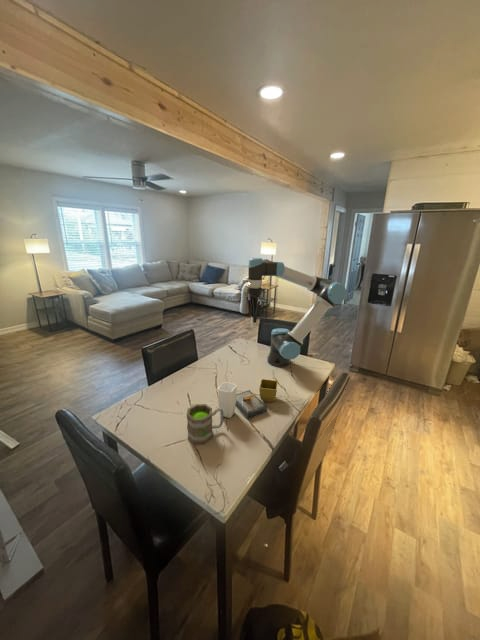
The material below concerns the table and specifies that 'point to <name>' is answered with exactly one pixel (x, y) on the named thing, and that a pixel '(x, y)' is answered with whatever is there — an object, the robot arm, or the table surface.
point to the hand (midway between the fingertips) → (253, 327)
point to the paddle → (248, 396)
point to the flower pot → (268, 390)
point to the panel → (250, 405)
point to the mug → (201, 423)
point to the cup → (227, 398)
